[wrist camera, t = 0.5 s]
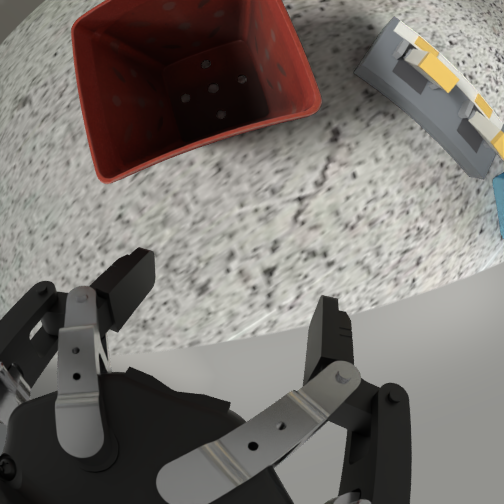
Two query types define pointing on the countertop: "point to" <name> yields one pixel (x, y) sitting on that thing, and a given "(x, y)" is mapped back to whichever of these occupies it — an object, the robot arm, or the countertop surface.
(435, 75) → the lever
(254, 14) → the plant pot
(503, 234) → the data package
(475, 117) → the lever
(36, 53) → the countertop surface
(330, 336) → the robot arm
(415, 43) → the switch console
